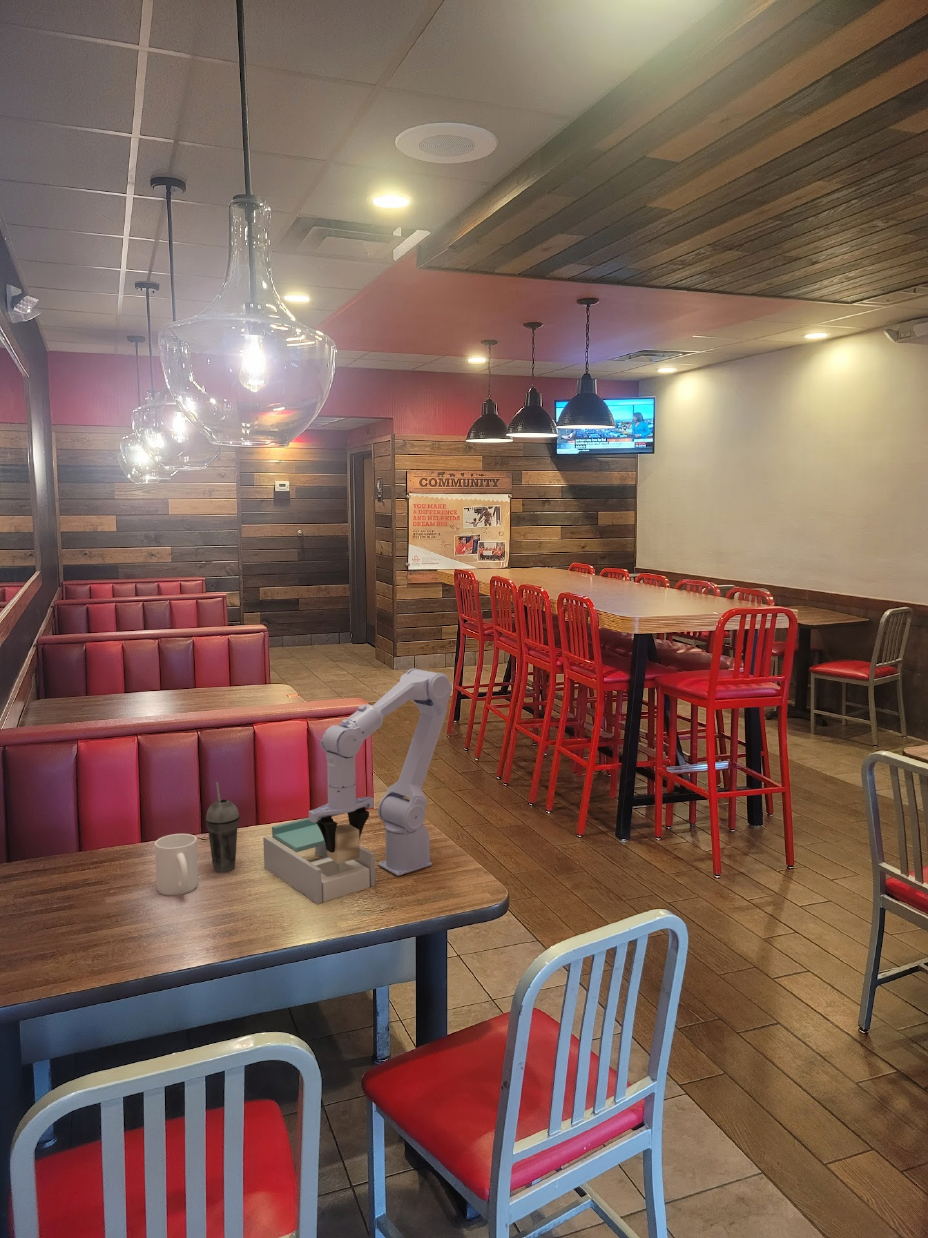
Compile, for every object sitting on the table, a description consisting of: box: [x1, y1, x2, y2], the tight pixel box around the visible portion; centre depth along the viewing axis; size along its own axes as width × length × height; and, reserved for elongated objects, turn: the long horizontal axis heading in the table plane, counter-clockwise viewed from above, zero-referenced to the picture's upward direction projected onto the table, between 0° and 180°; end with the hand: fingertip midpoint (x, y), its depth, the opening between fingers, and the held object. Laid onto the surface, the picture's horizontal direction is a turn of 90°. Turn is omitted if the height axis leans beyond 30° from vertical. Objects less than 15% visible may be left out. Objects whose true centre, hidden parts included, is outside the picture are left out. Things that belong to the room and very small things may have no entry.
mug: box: [154, 833, 199, 897], centre depth 179 cm, size 12×8×10 cm
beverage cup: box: [204, 781, 240, 874], centre depth 189 cm, size 7×7×20 cm
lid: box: [271, 817, 325, 853], centre depth 189 cm, size 11×11×2 cm
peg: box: [327, 822, 361, 864], centre depth 179 cm, size 5×5×6 cm
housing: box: [263, 835, 376, 905], centre depth 186 cm, size 14×24×7 cm, turn 39°
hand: (342, 847), depth 179 cm, fingers closed on peg, 5 cm apart
